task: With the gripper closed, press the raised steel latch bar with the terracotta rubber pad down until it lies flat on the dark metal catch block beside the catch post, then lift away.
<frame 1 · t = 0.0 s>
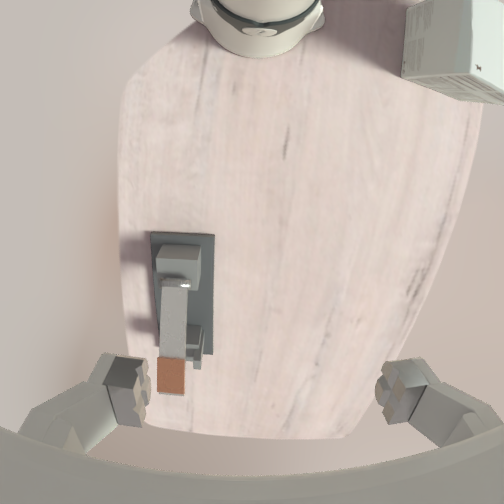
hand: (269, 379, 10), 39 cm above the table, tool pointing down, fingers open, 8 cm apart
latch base: (184, 298, 54), on the table
latch bar: (172, 337, 43), point 12 cm above the table, hinge at 35.0°
supplement box: (435, 55, 38), on the table
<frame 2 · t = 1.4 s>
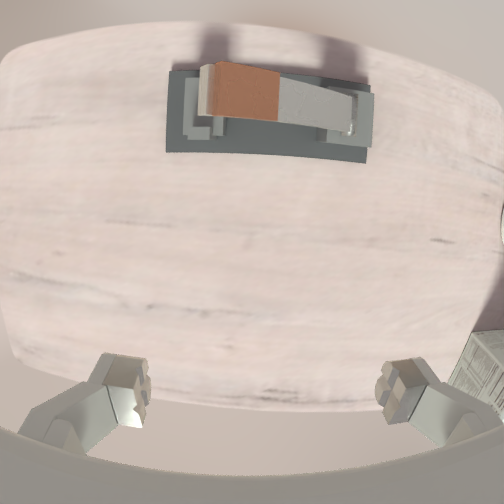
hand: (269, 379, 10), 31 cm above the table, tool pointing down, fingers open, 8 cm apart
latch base: (269, 113, 35), on the table
latch bar: (297, 102, 24), point 12 cm above the table, hinge at 35.0°
supplement box: (479, 356, 50), on the table
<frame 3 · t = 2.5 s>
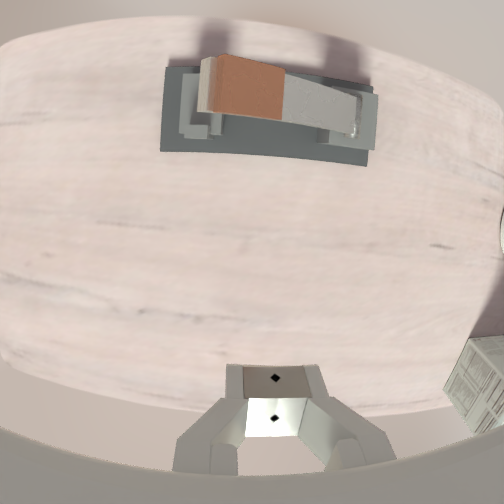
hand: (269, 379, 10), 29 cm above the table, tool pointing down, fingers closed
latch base: (269, 112, 34), on the table
latch bar: (301, 101, 23), point 12 cm above the table, hinge at 35.0°
supplement box: (475, 361, 50), on the table
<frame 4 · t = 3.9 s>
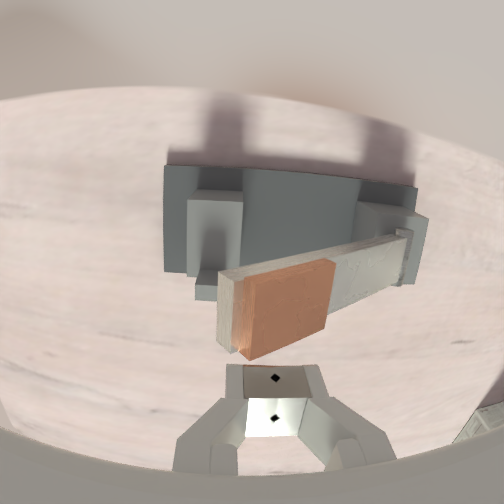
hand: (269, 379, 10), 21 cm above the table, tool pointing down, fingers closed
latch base: (294, 225, 30), on the table
latch bar: (346, 278, 19), point 12 cm above the table, hinge at 35.0°
supplement box: (480, 424, 45), on the table
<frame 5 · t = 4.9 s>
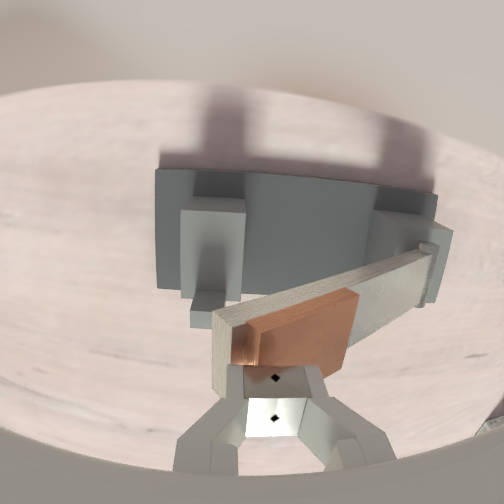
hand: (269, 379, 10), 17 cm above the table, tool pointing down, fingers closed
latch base: (302, 236, 27), on the table
latch bar: (367, 306, 15), point 12 cm above the table, hinge at 34.2°, touching gripper
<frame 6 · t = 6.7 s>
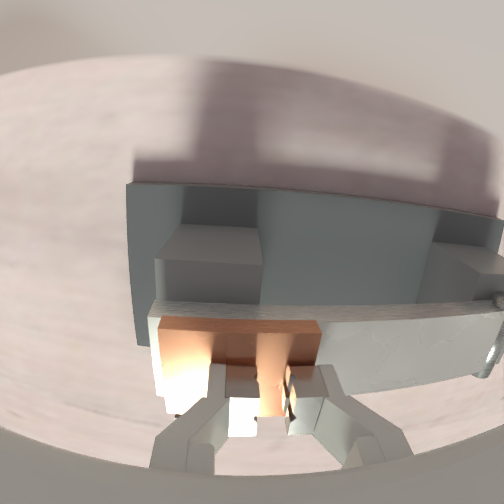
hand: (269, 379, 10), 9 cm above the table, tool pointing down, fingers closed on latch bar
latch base: (336, 278, 19), on the table
latch bar: (375, 355, 11), point 8 cm above the table, hinge at 2.6°, touching gripper
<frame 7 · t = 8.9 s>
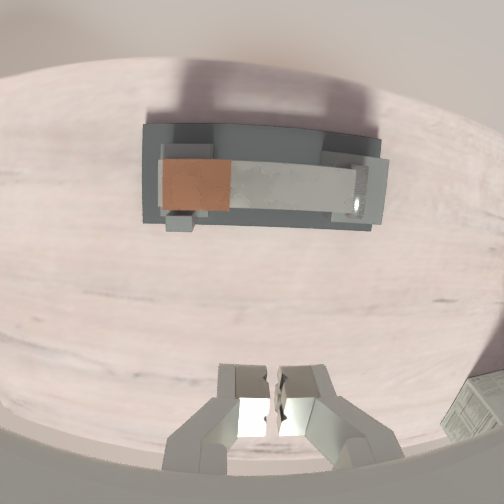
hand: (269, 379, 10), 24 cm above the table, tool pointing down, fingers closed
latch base: (263, 175, 31), on the table
latch bar: (267, 185, 24), point 8 cm above the table, hinge at 1.5°
supplement box: (473, 396, 48), on the table
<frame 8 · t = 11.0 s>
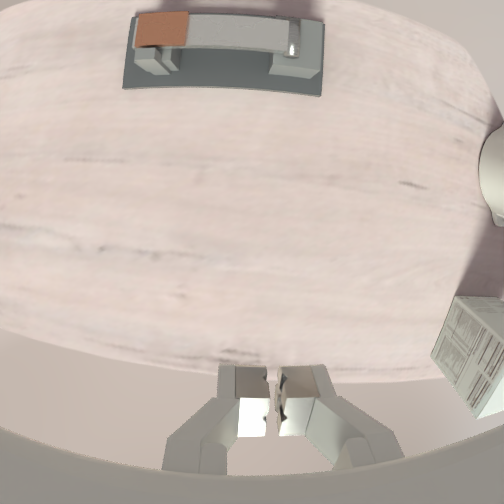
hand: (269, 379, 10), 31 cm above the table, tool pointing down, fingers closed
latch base: (223, 50, 33), on the table
latch bar: (216, 30, 26), point 8 cm above the table, hinge at 1.5°
supplement box: (465, 326, 49), on the table
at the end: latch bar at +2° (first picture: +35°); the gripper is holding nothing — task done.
